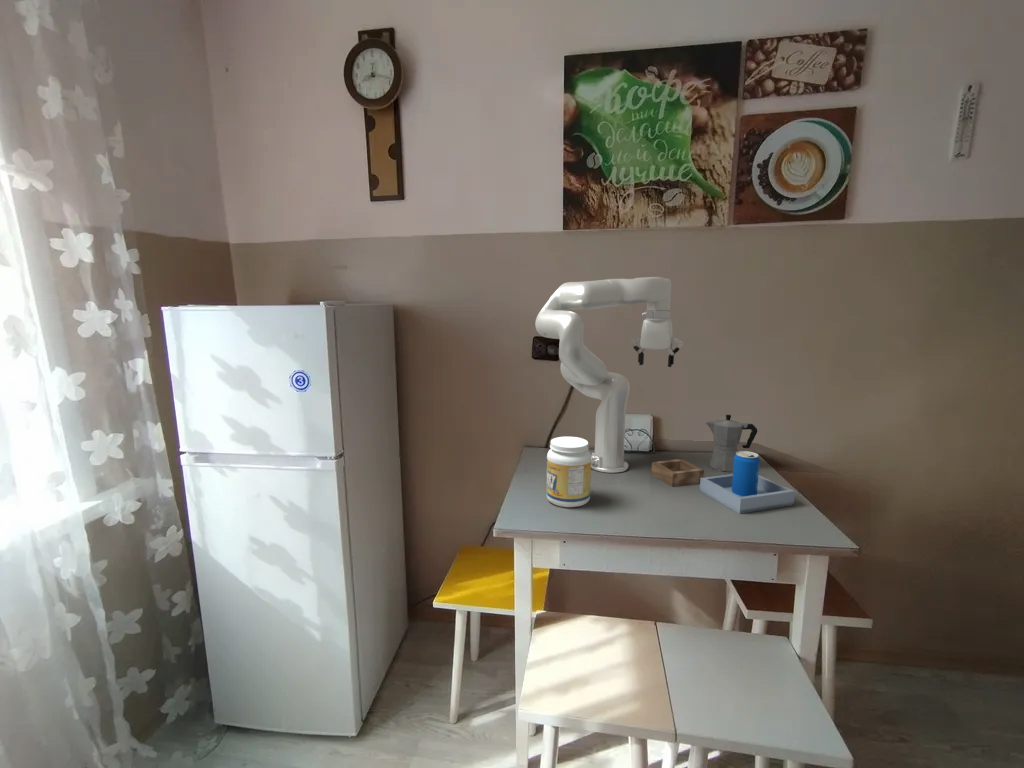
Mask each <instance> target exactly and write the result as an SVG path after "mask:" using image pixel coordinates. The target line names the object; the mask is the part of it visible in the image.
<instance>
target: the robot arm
mask: <svg viewBox="0 0 1024 768" xmlns="http://www.w3.org/2000/svg"><path fill="white" fill-rule="evenodd" d="M671 295H672V281H671V279H670V278H664V277H661V276H647V277H645V276H644V277H643V276H642V277H635V278H607V279H597V280H584V281H569V282H564V283H563V284H561V285H560V286H559V287H558V288H557V289H556V290H555V291H554V292H553V293H552V294H551V296H550V297H549V299H548V300H547V301H546V303H545V304H544V306H543V307H542V308H541V309H540V311H539V312H538V314H537V316H536V317H535V324H534V325H535V330H536V332H537V333H538V334H539V335H540V336H542V337H543V338H547V339H554V340H555V339H556V340H559V344H558V346H559V347H558V358H559V360H560V367H559V368H560V374H561V376H562V377H563V379H564V380H565V381H566V382H567V383H568V384H570V385H571V386H572V388H575V389H576V390H577V391H579V392H580V393H581V394H582V395H584V396H586V397H589V398H592V399H597V400H600V401H601V402H600V404H599V405H598V407H597V409H596V412H595V433H594V434H595V435H594V436H595V437H594V452H591V458H592V459H591V469H592V470H595V471H598V472H600V473H609V474H610V473H611V474H615V473H622V472H625V471H627V470H628V469H629V463H628V462H627V461H625V438H626V437H625V436H626V434H625V433H626V413H627V404H628V400H629V395H630V390H631V384H630V382H629V380H628V378H627V377H626V376H624V375H623V374H621V373H617V372H612V371H608V368H607V366H606V364H605V363H604V362H603V361H602V359H601V358H600V357H598V356H597V355H595V354H594V353H593V352H592V351H591V350H590V349H588V347H587V346H586V345H585V344H584V331H585V330H584V328H585V327H584V326H585V325H584V321H583V319H582V317H581V316H580V314H578V313H577V312H574V311H588V310H589V311H590V310H596V309H597V310H598V309H603V308H612V307H622V306H623V307H624V306H629V305H638V304H646V310H645V311H643V312H642V314H641V315H642V317H645V319H643V322H642V326H641V333H640V336H638V337H636V338H634V339H632V340H631V341H630V343H631V345H632V347H633V350H635V352H636V354H638V355H637V362H638V363H639V366H643V365H644V363H645V362H644V360H645V353H644V351H645V350H659V351H660V350H662V351H663V350H664V351H667V352H668V353H669V355H668V358H667V359H668V360H667V367H668V368H671V367H672V366H673V365H674V362H675V361H674V360H675V355H676V353H678V352H679V351H680V350H681V348H682V347H683V345H684V342H683V341H681V340H679V339H678V338H676V337H674V336H673V323H672V322H673V321H672V319H670V313H671V312H670V309H671ZM570 310H573V311H570ZM639 341H640V342H639ZM638 342H639V343H640V344H639V345H640V346H639V345H638V344H637V343H638ZM673 343H675V344H676V345H677V346H676V347H675V348H673Z"/></svg>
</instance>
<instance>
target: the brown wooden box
mask: <svg viewBox="0 0 1024 768" xmlns="http://www.w3.org/2000/svg"><path fill="white" fill-rule="evenodd" d="M653 475H654V476H653ZM704 475H705V470H704V469H703V468H701V467H699V466H697V465H694V464H692V463H691V462H688V461H687V460H685V459H683V458H678V459H669V460H662V461H653V462H652V461H651V476H653V477H654V478H657V479H659V480H660V481H662V482H664V483H665V484H666V485H669V486H670V487H679V486H680V485H681V486H686V485H687V486H688V485H695V484H700V479H701V478H704Z"/></svg>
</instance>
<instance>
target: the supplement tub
mask: <svg viewBox="0 0 1024 768" xmlns="http://www.w3.org/2000/svg"><path fill="white" fill-rule="evenodd" d="M589 447H590V446H589V442H588V440H587V439H584V438H583V437H577V436H559V437H554V438H552V439H551V440H550V445H549V448H550V449H548V452H547V453H546V454H547V455H546V492H545V493H546V494H545V495H546V499H547V500H548V502H550V503H551V504H553V505H555V506H557V507H562V508H576V507H582V506H584V505H586V504H587V503H588V502H589V501H590V498H591V483H592V482H591V481H592V480H591V479H592V478H591V476H592V468H591V459H592V458H591V455H592V453H591V451H589Z"/></svg>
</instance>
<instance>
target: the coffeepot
mask: <svg viewBox="0 0 1024 768" xmlns="http://www.w3.org/2000/svg"><path fill="white" fill-rule="evenodd" d="M731 418H732V415H731V414H726V415H725V419H719V420H718V419H717V420H714V421H712V420H711V421H707V422H706V423H705V424H706V425H707V426H708V427H709V429H710V431H711V433H712V435H713V442H714V443H715V444H714V446H715V447H714V448H713V450H712V455H711V458H710V462H709V466H710V468H711V469H712V470H715V469H716V470H715V471H718V470H720V471H719V472H723V471H725V472H726V473H733V466H734V456H735V455H736V452H738V451H739V450H738V446H739V444H740V442H741V437H742V432H743V430H750V431H751V432H750V433H749V436H748V439H747V441H746V444H742V448H743V449H749V448H750V449H751V445H752V443H753V442H754V440H755V437H756V435H757V433H758V428H757V427H756V426H755V424H753V423H746V422H739V421H736V420H731ZM725 472H724V473H725Z"/></svg>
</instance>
